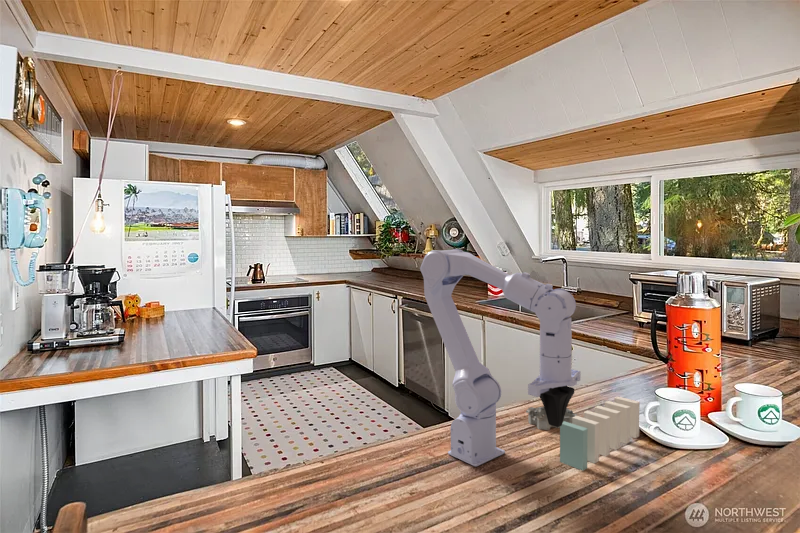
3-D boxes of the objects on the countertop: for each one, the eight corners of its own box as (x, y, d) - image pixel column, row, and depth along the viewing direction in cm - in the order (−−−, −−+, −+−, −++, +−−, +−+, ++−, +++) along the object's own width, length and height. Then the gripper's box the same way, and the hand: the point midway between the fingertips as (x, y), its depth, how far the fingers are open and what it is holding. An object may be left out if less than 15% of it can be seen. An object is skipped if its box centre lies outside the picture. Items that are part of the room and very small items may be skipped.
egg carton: (540, 432, 114) (540, 415, 113) (523, 421, 121) (523, 405, 120) (579, 426, 117) (579, 409, 116) (560, 415, 124) (560, 399, 124)
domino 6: (635, 438, 109) (636, 403, 108) (613, 431, 113) (614, 397, 112) (639, 436, 110) (639, 401, 109) (617, 429, 114) (617, 396, 113)
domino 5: (626, 444, 106) (626, 408, 106) (604, 437, 110) (604, 402, 109) (629, 442, 107) (630, 406, 107) (607, 435, 111) (608, 400, 110)
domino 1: (582, 470, 95) (583, 430, 94) (559, 461, 98) (560, 423, 98) (587, 468, 96) (587, 428, 95) (564, 459, 99) (564, 421, 99)
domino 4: (616, 450, 103) (616, 413, 103) (594, 442, 107) (594, 407, 106) (620, 448, 104) (620, 411, 104) (597, 440, 108) (598, 405, 108)
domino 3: (605, 456, 100) (606, 418, 100) (583, 448, 104) (583, 412, 104) (609, 454, 101) (610, 416, 101) (587, 446, 105) (587, 410, 105)
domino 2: (594, 463, 97) (595, 424, 97) (571, 455, 101) (572, 417, 101) (598, 461, 98) (599, 422, 98) (576, 452, 102) (576, 415, 102)
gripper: (552, 365, 84) (552, 442, 85) (595, 351, 93) (594, 420, 94) (518, 358, 89) (518, 430, 90) (562, 345, 98) (561, 411, 99)
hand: (555, 424), depth 92 cm, fingers closed
